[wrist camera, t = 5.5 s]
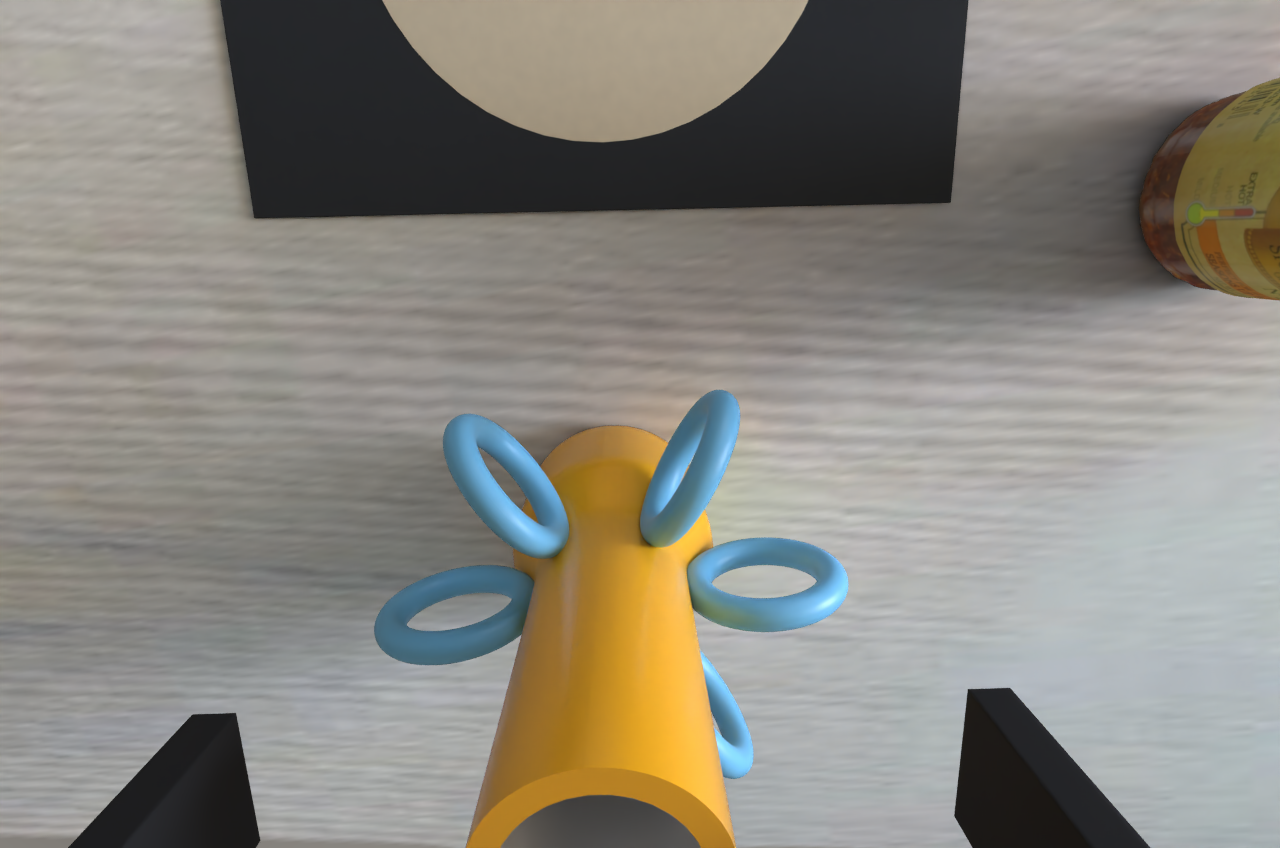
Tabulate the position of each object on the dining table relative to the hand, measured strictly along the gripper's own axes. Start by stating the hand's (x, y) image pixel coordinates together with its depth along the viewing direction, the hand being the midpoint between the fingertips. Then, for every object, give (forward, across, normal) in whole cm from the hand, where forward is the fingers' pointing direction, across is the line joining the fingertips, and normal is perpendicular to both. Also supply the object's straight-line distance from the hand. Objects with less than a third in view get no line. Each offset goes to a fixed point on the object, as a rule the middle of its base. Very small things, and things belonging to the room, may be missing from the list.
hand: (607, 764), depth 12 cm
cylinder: (+12, 0, 0) cm, 13 cm away
